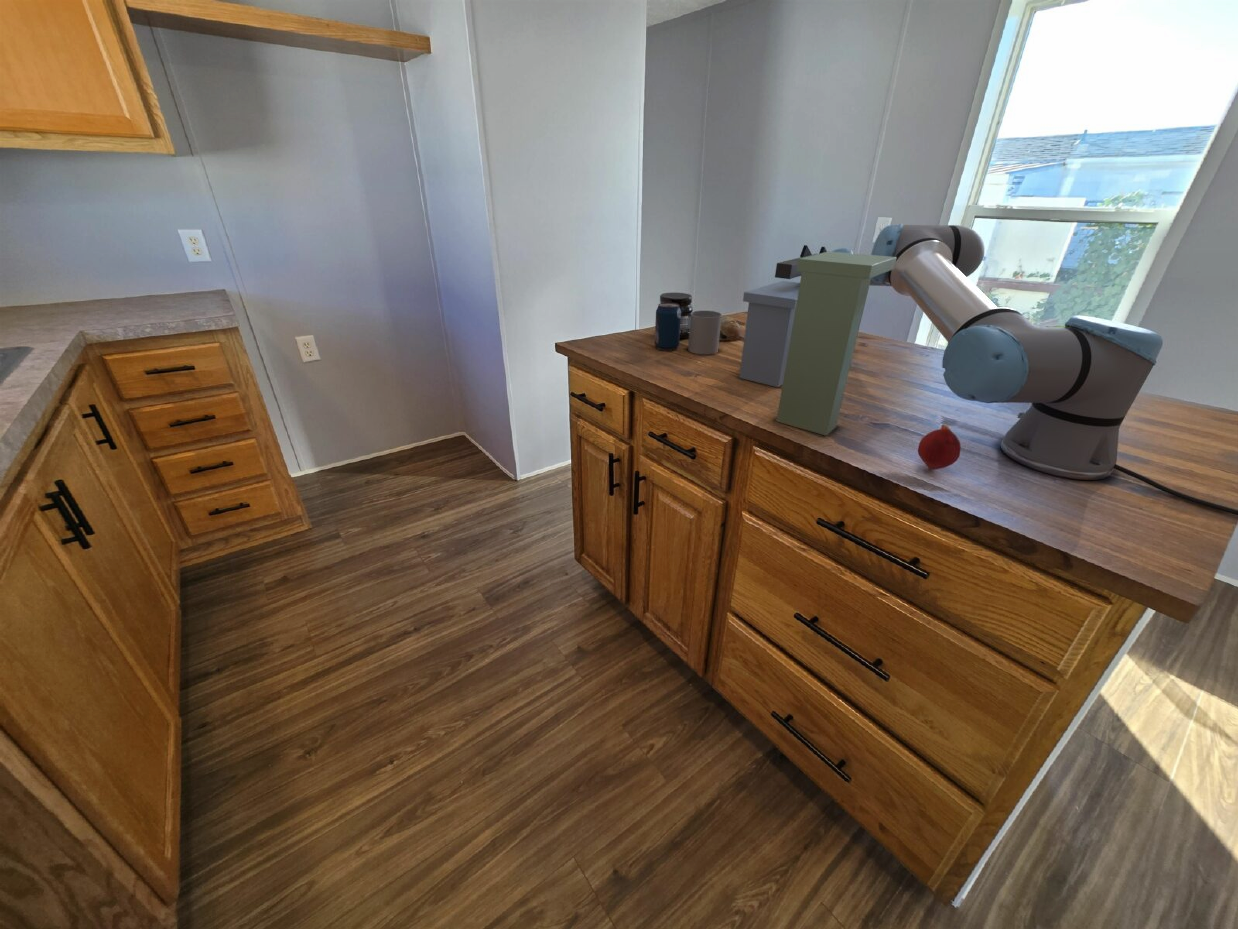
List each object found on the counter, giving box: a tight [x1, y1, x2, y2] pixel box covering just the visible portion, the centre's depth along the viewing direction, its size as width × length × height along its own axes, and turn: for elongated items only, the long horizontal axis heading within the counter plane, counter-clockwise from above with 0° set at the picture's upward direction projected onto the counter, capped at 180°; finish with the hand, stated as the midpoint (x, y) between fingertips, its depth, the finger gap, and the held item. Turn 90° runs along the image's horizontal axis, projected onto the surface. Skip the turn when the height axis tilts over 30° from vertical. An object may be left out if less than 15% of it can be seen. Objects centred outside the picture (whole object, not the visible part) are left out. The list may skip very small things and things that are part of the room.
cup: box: [687, 310, 723, 355], centre depth 140 cm, size 8×8×10 cm
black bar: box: [774, 253, 817, 280], centre depth 118 cm, size 4×22×3 cm, turn 140°
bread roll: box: [719, 315, 741, 342], centre depth 153 cm, size 10×10×8 cm
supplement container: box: [659, 292, 694, 340], centre depth 152 cm, size 10×10×12 cm
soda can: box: [654, 302, 681, 352], centre depth 141 cm, size 7×7×12 cm
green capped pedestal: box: [775, 251, 897, 437], centre depth 94 cm, size 12×14×30 cm
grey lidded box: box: [738, 280, 800, 388], centre depth 120 cm, size 12×20×20 cm, turn 140°
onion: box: [917, 423, 962, 471], centre depth 82 cm, size 6×6×8 cm
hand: (812, 251), depth 119 cm, fingers closed on black bar, 3 cm apart
